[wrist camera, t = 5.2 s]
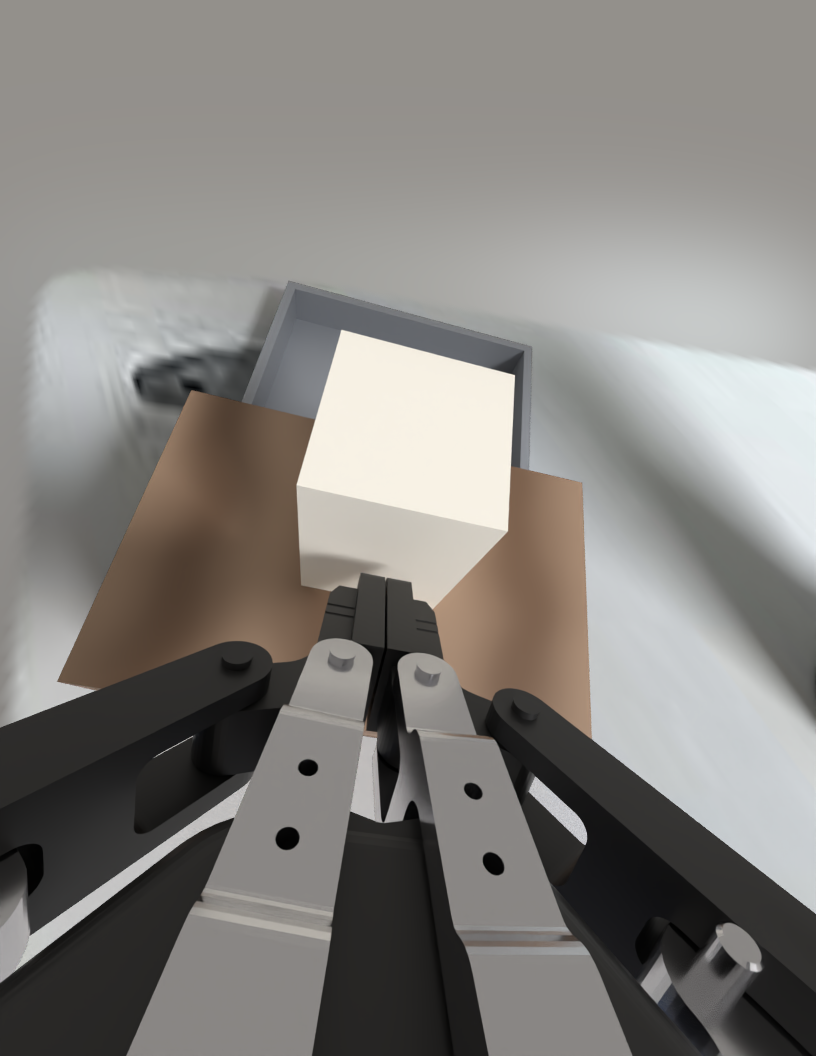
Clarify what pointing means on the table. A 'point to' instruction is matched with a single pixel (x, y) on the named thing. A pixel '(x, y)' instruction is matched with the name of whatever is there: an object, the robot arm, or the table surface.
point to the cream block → (404, 469)
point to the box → (319, 316)
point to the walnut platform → (297, 611)
